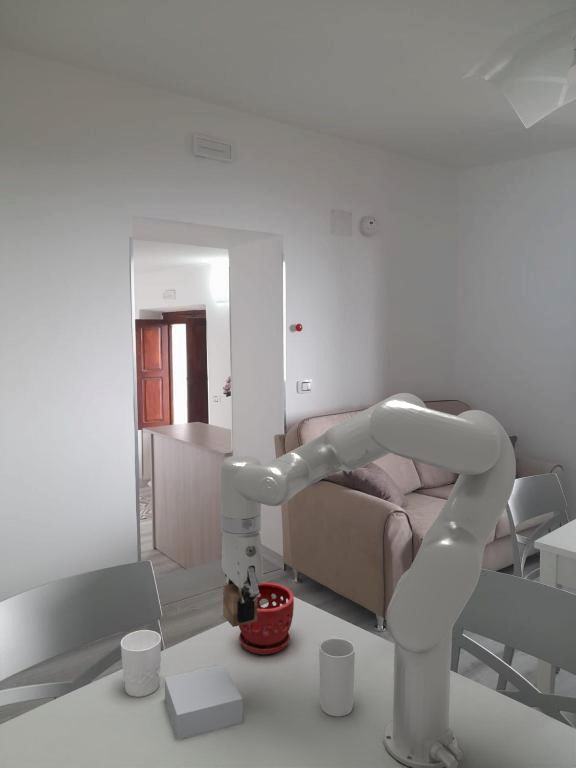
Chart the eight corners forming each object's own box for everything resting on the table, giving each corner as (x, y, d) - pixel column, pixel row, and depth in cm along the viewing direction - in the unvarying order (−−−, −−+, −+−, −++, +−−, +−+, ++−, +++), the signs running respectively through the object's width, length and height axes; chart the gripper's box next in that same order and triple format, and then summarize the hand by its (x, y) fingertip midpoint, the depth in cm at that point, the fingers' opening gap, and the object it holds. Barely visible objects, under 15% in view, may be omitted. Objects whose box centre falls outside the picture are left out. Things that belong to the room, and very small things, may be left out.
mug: (353, 719, 109) (354, 658, 108) (317, 716, 110) (317, 655, 109) (355, 686, 119) (356, 630, 118) (322, 683, 120) (322, 627, 119)
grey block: (242, 724, 108) (242, 698, 108) (177, 741, 104) (177, 715, 103) (224, 687, 119) (223, 664, 119) (165, 701, 115) (164, 677, 114)
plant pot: (224, 647, 134) (224, 597, 132) (261, 624, 144) (261, 577, 143) (269, 667, 126) (269, 614, 124) (305, 641, 136) (305, 591, 135)
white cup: (114, 694, 116) (112, 647, 115) (135, 672, 124) (134, 627, 123) (149, 702, 114) (148, 653, 113) (169, 679, 122) (168, 633, 121)
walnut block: (257, 621, 112) (257, 591, 111) (232, 627, 109) (233, 596, 109) (246, 609, 116) (246, 580, 116) (223, 615, 114) (223, 585, 113)
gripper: (278, 534, 105) (277, 630, 107) (241, 506, 120) (240, 591, 122) (240, 540, 102) (239, 640, 103) (206, 511, 117) (206, 599, 118)
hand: (239, 613), depth 113 cm, fingers closed on walnut block, 5 cm apart
